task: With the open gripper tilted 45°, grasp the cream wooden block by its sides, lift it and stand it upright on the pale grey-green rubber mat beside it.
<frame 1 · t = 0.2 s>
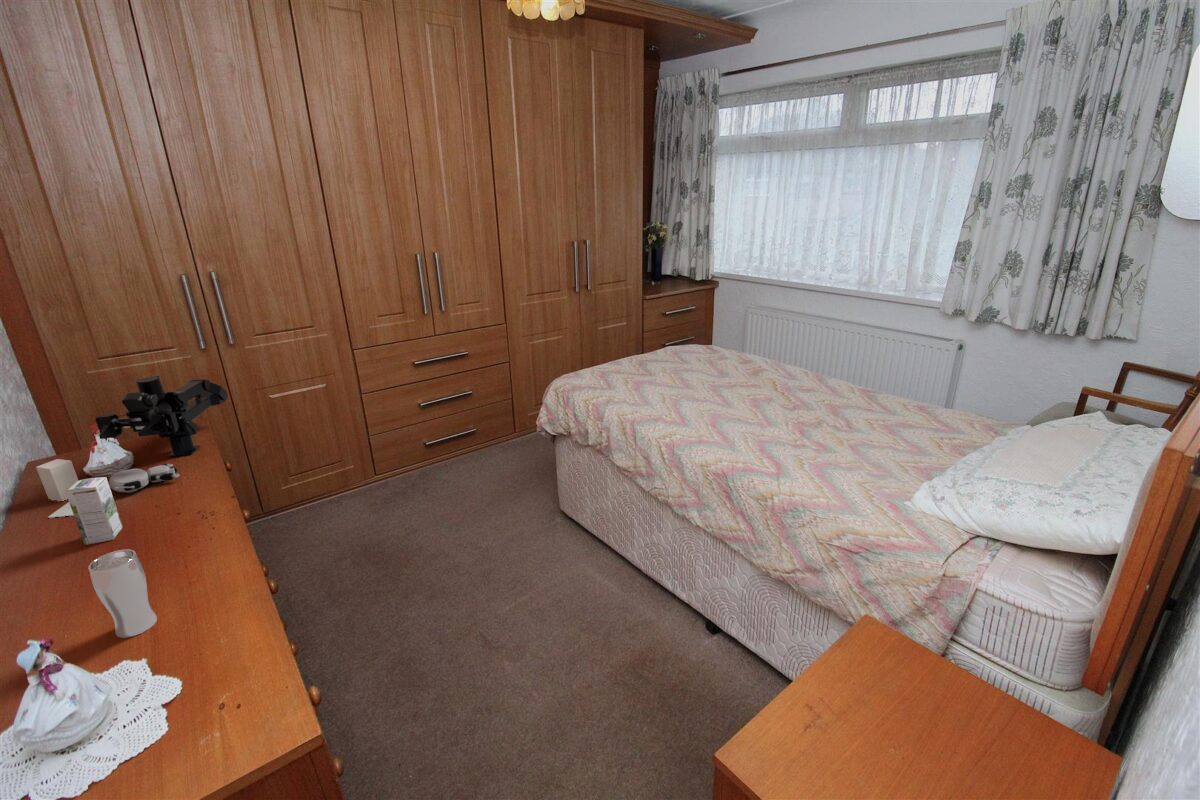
hand: (119, 435, 146), 17 cm above the dresser, tool horizontal, fingers open, 9 cm apart
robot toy: (147, 485, 155), on the dresser
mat: (76, 508, 142), on the dresser
syrup box: (105, 537, 130), on the dresser
beer glass: (137, 627, 102), on the dresser
cream block: (66, 496, 148), on the dresser
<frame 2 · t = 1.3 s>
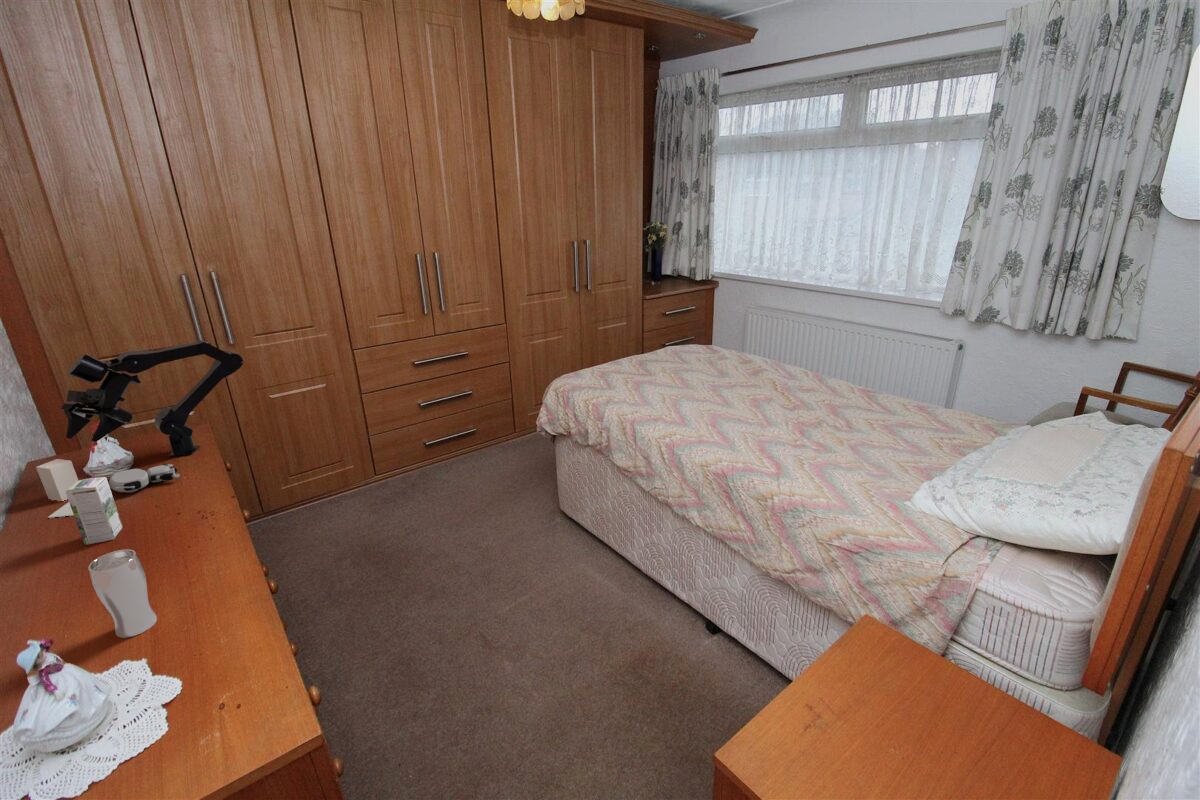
hand: (80, 439, 150), 14 cm above the dresser, tool tilted 45°, fingers open, 9 cm apart
nothing on the dresser moved.
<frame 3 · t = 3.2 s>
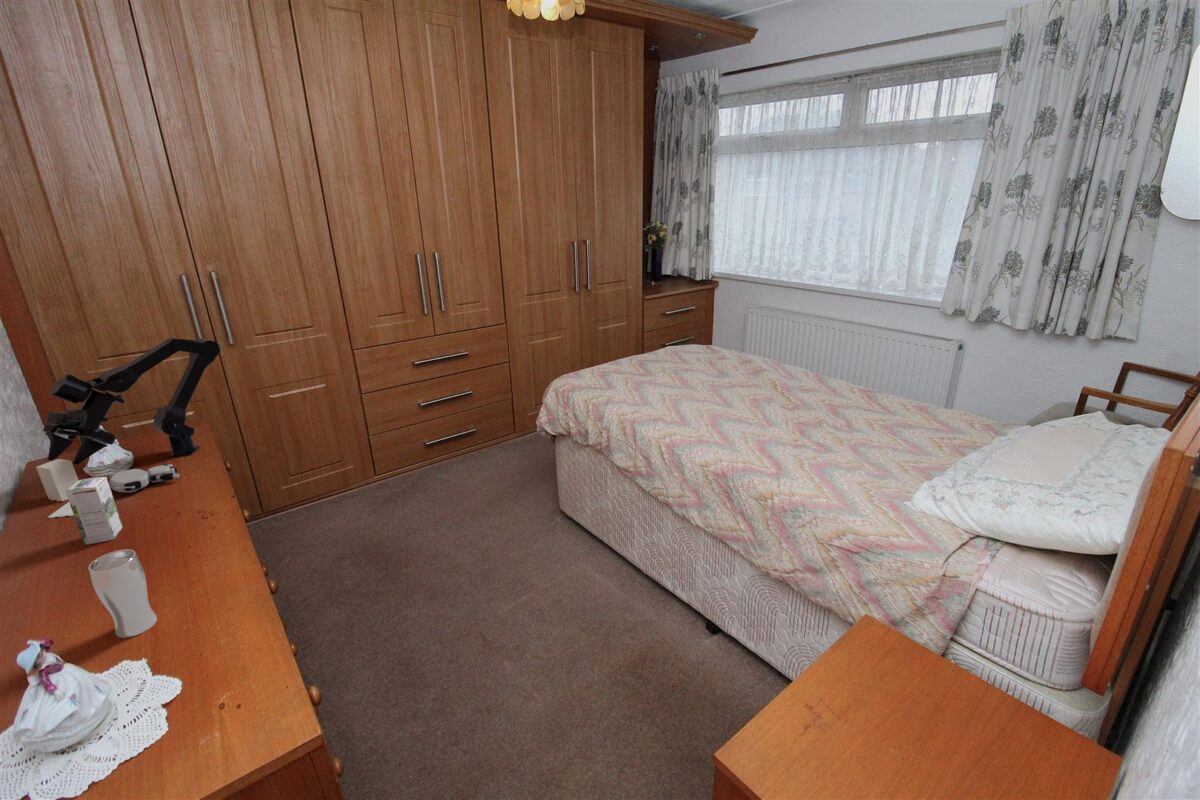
hand: (62, 462, 147), 9 cm above the dresser, tool tilted 45°, fingers open, 9 cm apart
nothing on the dresser moved.
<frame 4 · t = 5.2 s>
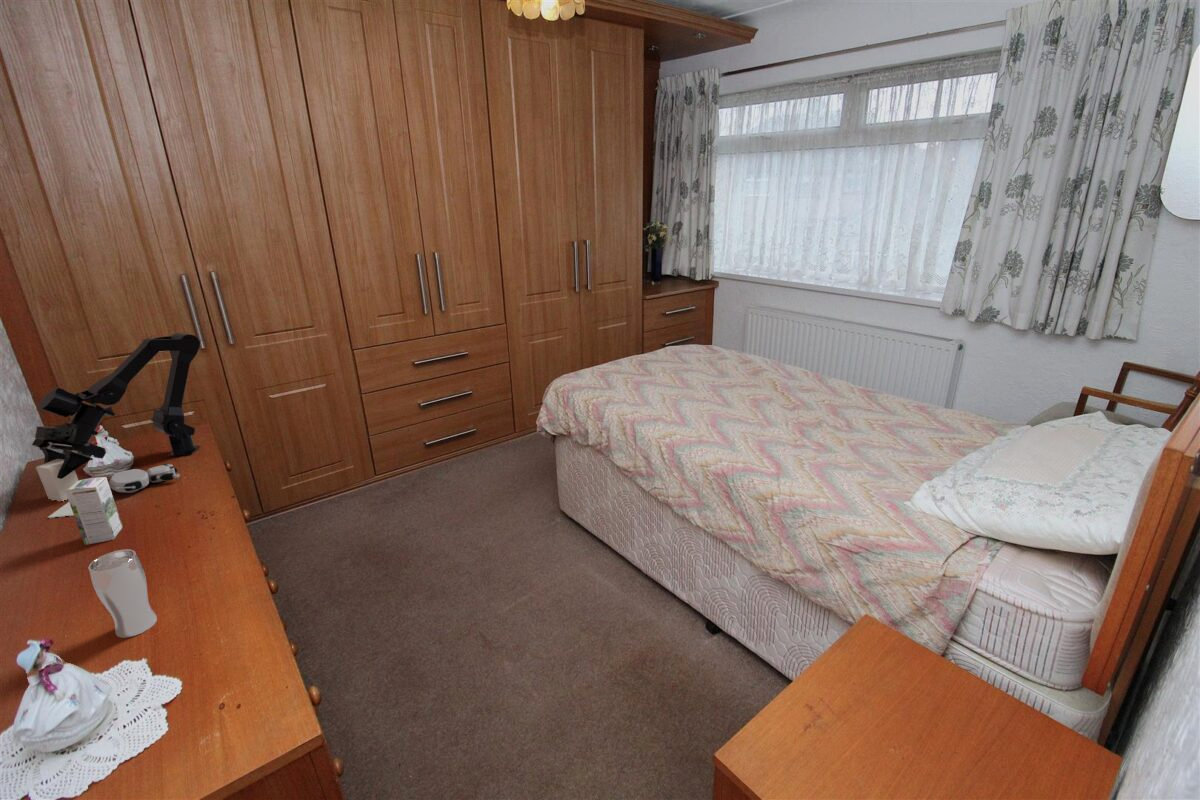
hand: (51, 477, 145), 7 cm above the dresser, tool tilted 45°, fingers closed on cream block, 5 cm apart
cream block: (66, 496, 148), on the dresser, touching gripper
everything else where it was.
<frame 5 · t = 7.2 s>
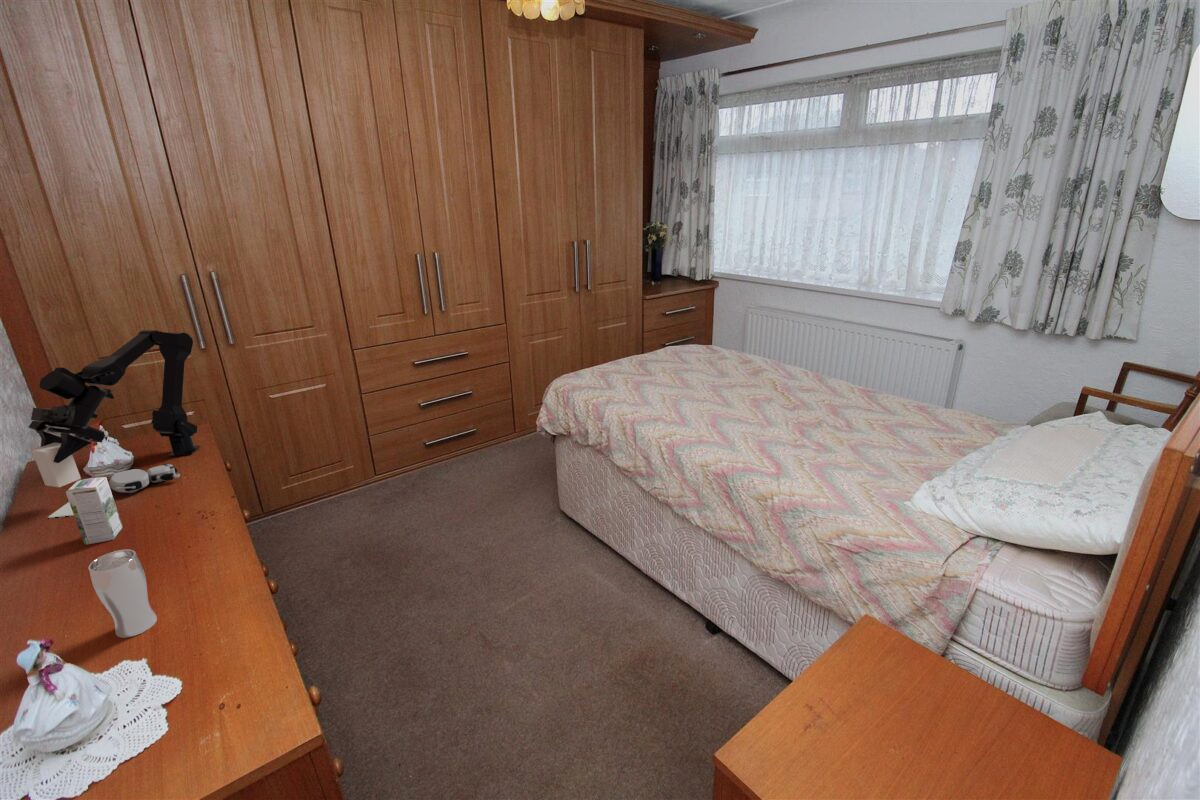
hand: (48, 461, 138), 14 cm above the dresser, tool tilted 45°, fingers closed on cream block, 5 cm apart
cream block: (63, 481, 141), point 7 cm above the dresser, touching gripper
everything else where it was.
when the fingers open (8 cm above the dresser, at t = 9.6 s): cream block stays where it is, resting on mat.
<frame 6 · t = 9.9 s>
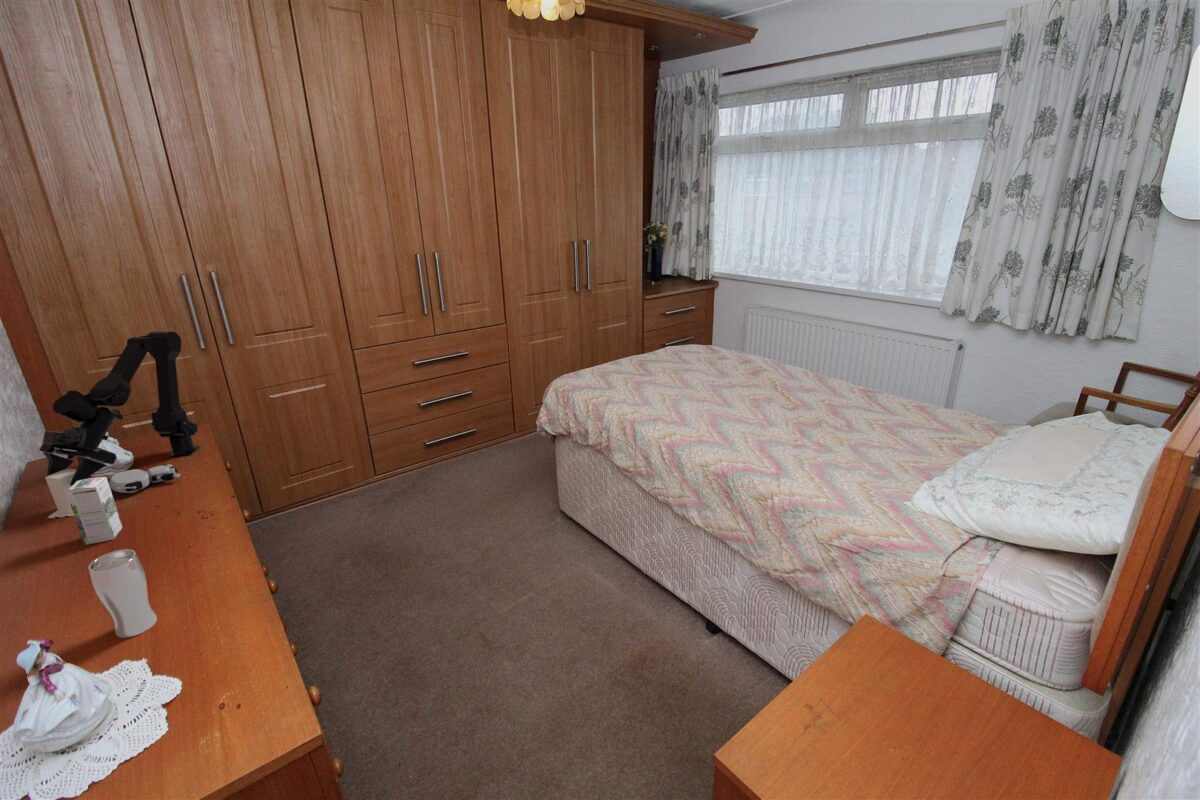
hand: (60, 484, 138), 8 cm above the dresser, tool tilted 45°, fingers open, 8 cm apart
cream block: (76, 507, 142), resting on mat
everything else where it was.
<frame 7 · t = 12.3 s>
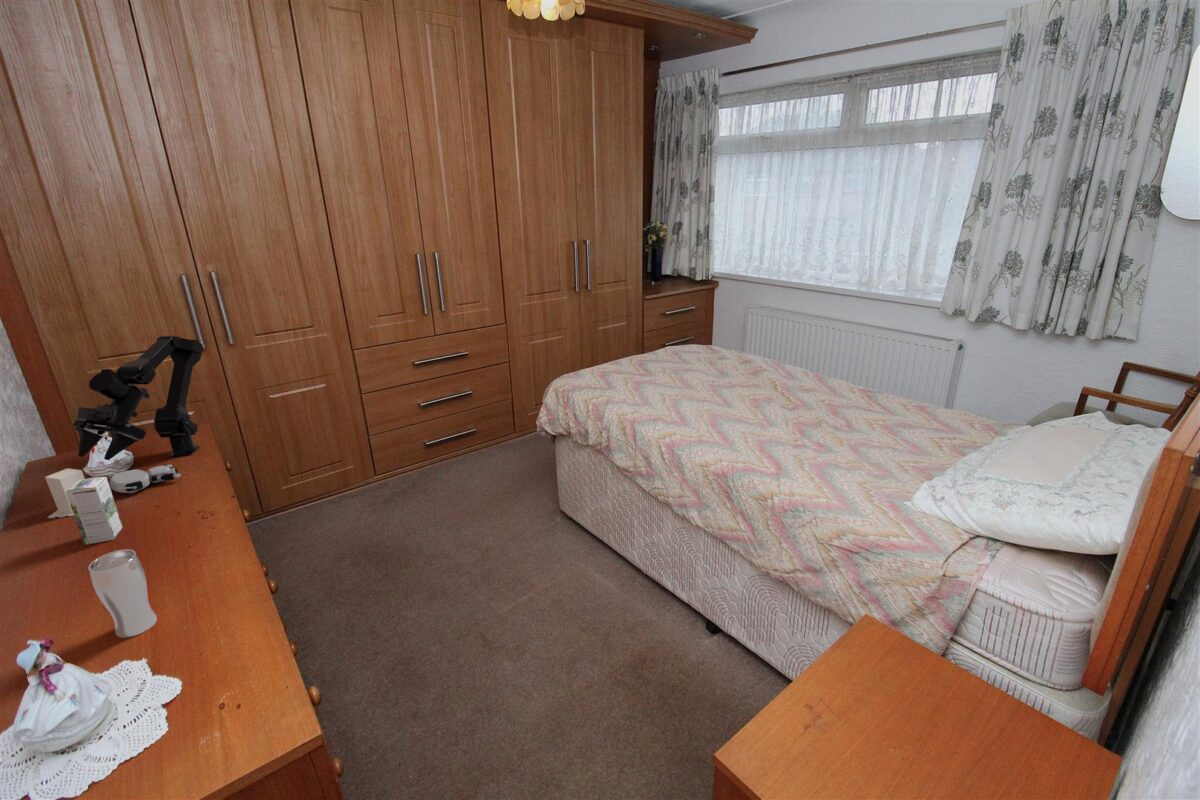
hand: (93, 457, 145), 11 cm above the dresser, tool tilted 45°, fingers open, 9 cm apart
nothing on the dresser moved.
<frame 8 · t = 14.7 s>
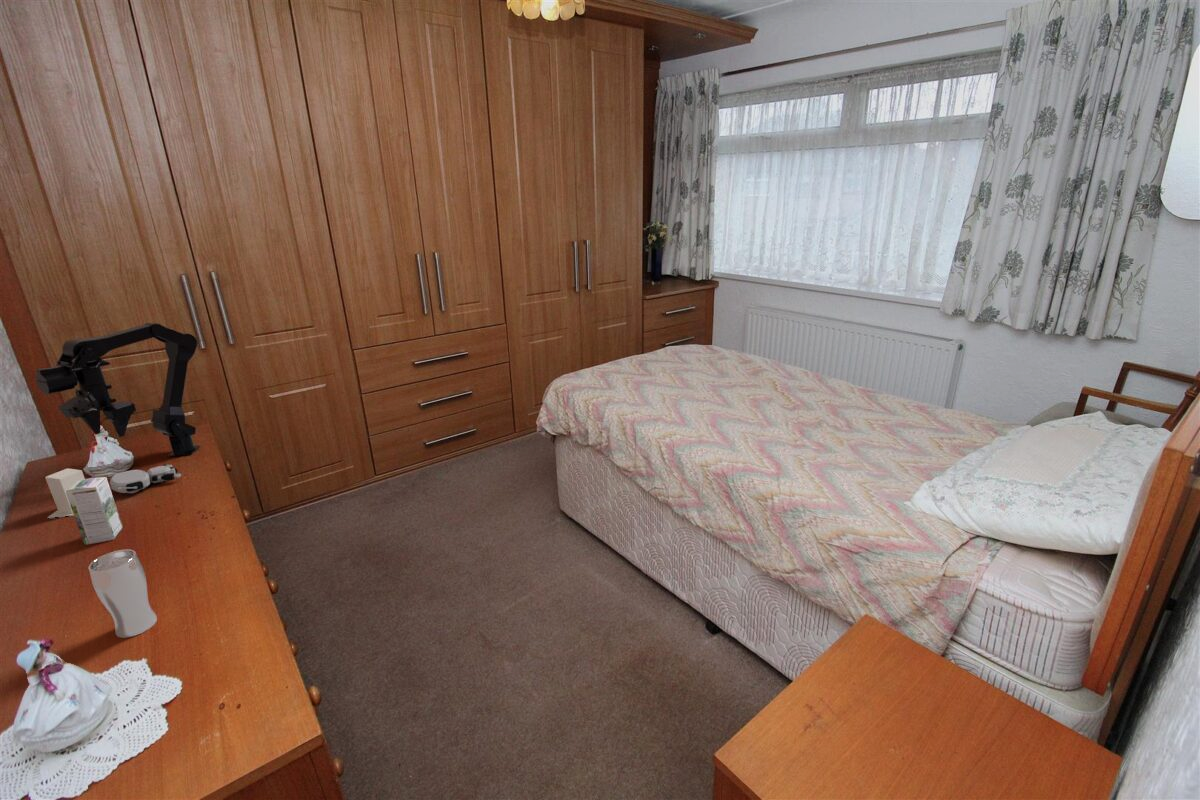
hand: (109, 434, 156), 13 cm above the dresser, tool pointing down, fingers open, 9 cm apart
nothing on the dresser moved.
at the end: cream block 0.0 cm off-centre on the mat, point 0.4 cm above the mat's base; cream block tilted 0°; the gripper is holding nothing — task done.
